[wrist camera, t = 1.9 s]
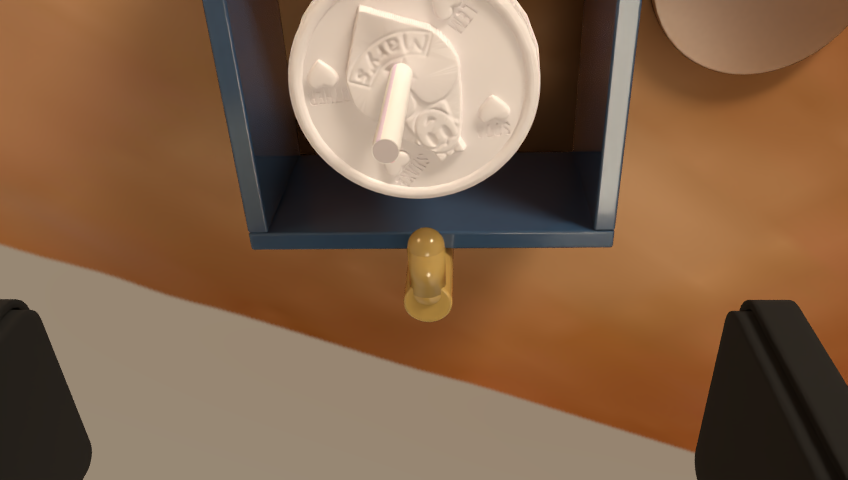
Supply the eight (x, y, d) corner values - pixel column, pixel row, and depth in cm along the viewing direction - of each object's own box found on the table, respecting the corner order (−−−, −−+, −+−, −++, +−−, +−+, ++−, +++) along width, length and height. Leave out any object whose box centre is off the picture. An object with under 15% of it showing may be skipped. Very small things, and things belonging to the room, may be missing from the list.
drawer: (220, -245, 23) (116, -245, 16) (627, -264, 22) (700, -273, 15) (291, 203, 32) (243, 326, 25) (585, 200, 31) (619, 326, 24)
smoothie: (463, -151, 24) (461, -60, 12) (550, 20, 27) (616, 225, 15) (304, -45, 26) (172, 118, 14) (400, 103, 29) (357, 340, 17)
